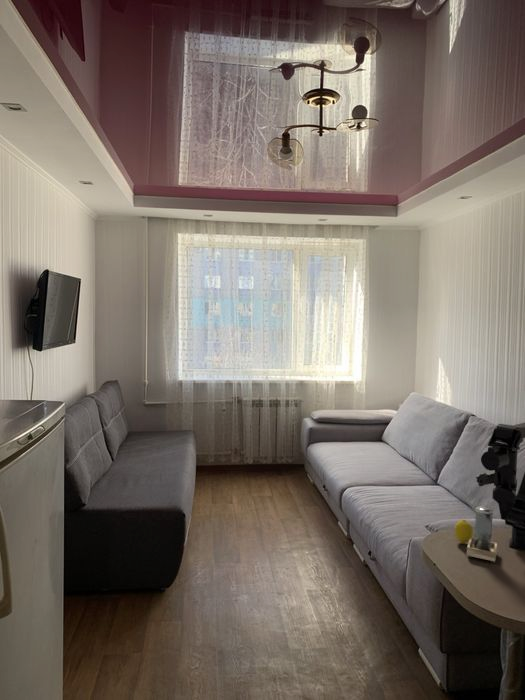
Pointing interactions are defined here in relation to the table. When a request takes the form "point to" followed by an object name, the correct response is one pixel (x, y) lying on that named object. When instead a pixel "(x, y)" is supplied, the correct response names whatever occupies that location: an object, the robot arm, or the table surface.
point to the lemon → (463, 531)
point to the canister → (483, 528)
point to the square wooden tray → (481, 551)
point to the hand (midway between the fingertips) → (503, 514)
